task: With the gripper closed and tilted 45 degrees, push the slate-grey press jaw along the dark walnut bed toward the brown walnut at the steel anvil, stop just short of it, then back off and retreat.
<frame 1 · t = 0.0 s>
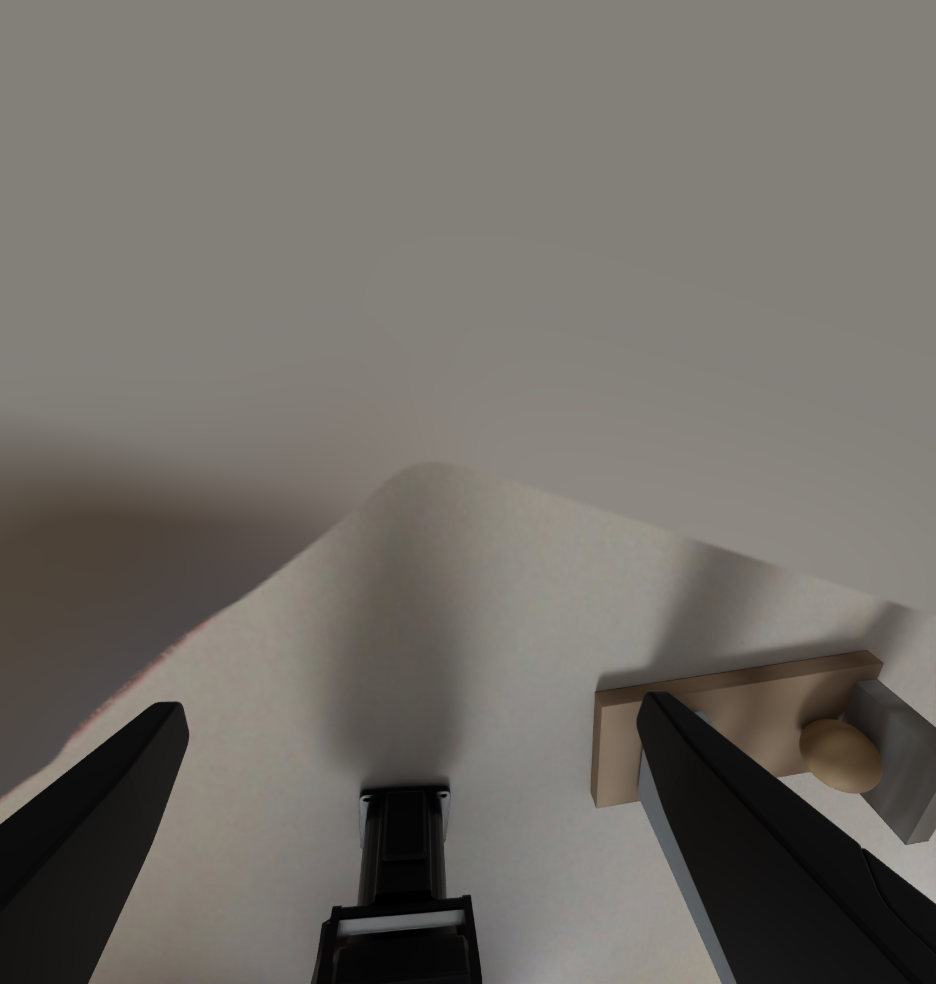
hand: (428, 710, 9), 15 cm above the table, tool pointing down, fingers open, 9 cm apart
press bed: (658, 735, 33), on the table
press jaw: (738, 881, 24), point 9 cm above the table, slide at 0.0 cm
walnut: (799, 712, 33), resting on press bed
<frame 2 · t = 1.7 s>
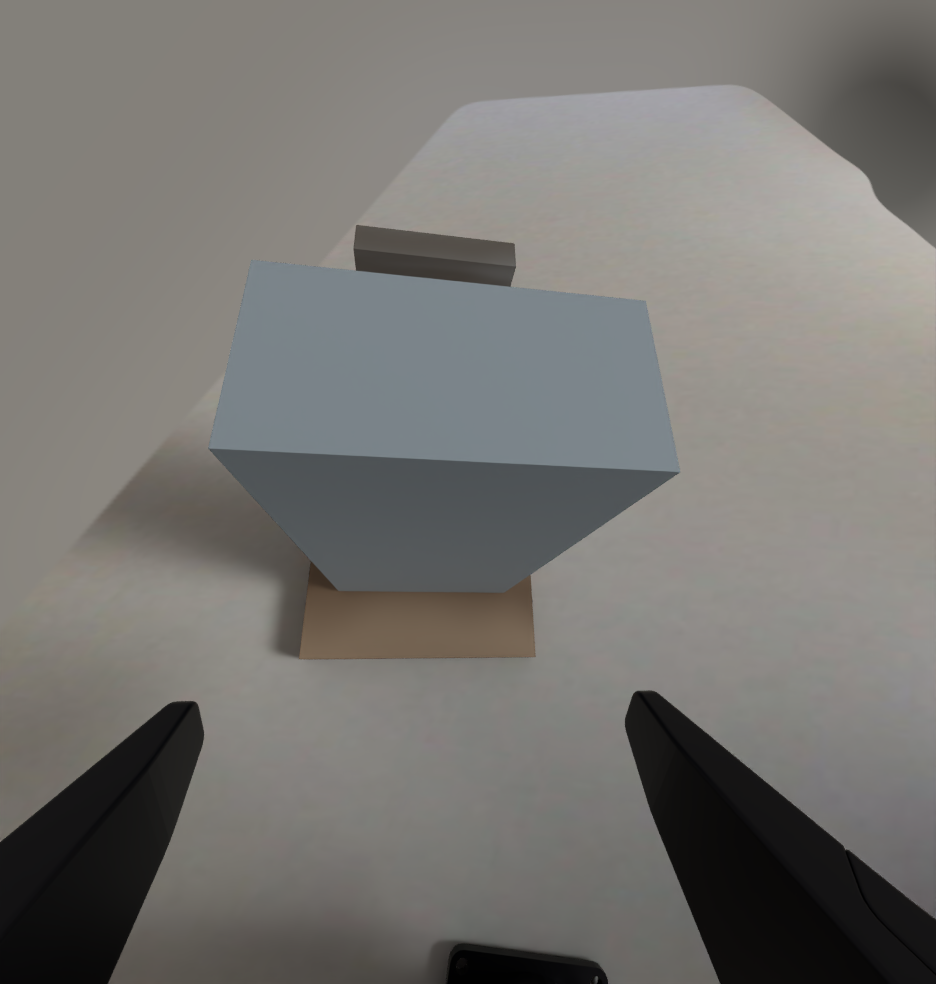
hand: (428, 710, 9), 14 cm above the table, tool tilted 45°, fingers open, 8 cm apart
press bed: (423, 558, 23), on the table
press jaw: (434, 500, 15), point 9 cm above the table, slide at 0.0 cm
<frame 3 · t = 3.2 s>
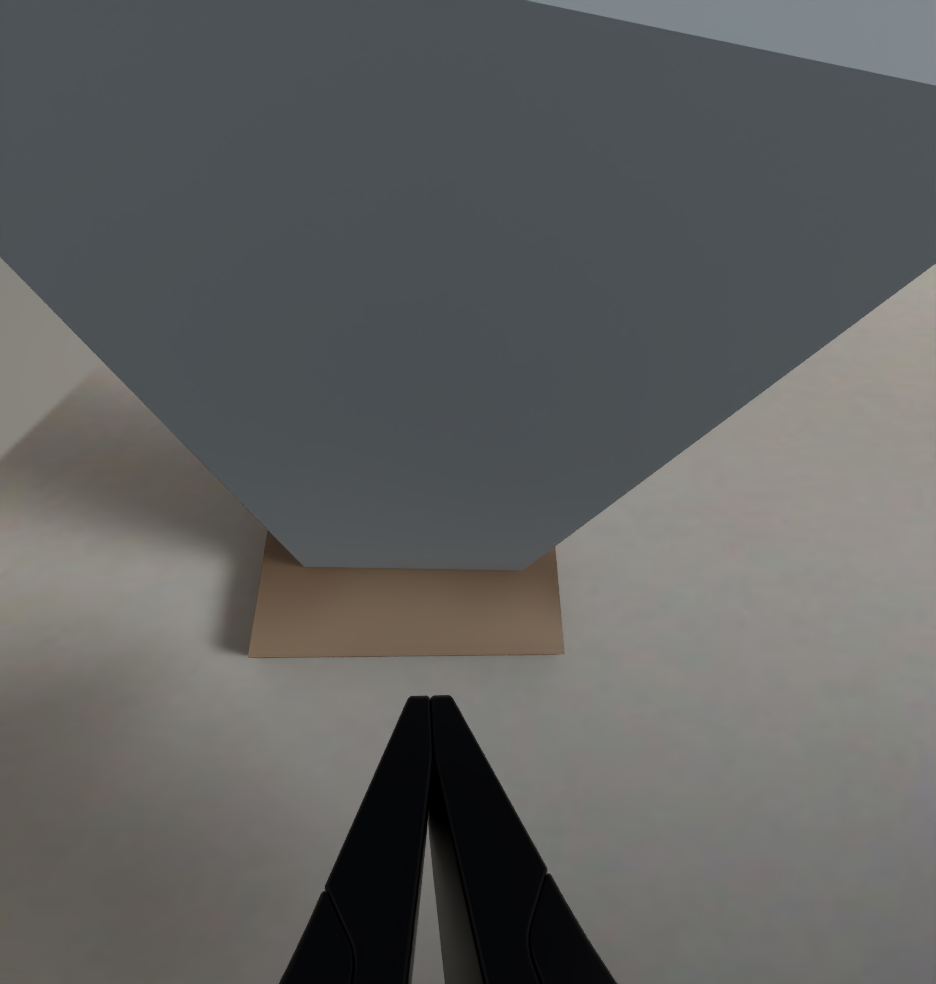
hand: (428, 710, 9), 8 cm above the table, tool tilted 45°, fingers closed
press bed: (417, 528, 18), on the table
press jaw: (432, 415, 10), point 9 cm above the table, slide at 0.0 cm
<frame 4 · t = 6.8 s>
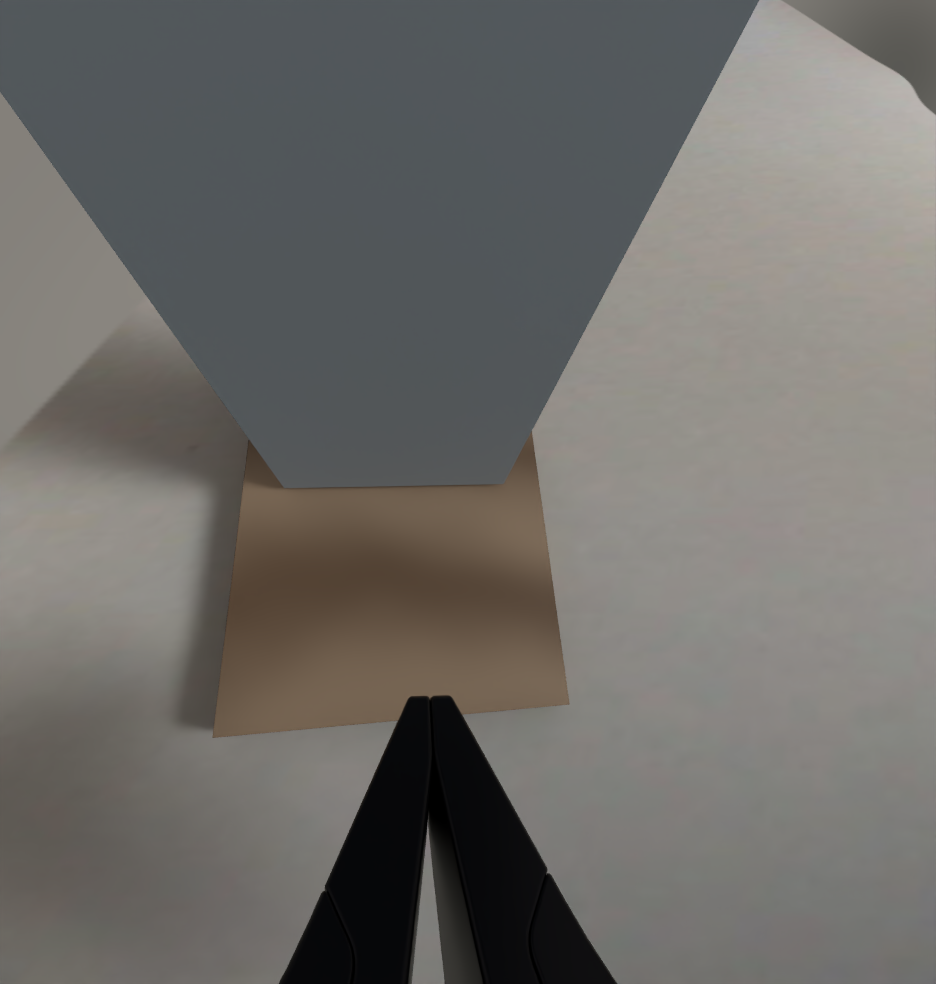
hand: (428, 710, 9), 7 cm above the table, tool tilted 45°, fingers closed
press bed: (399, 568, 17), on the table
press jaw: (388, 280, 10), point 9 cm above the table, slide at 4.8 cm
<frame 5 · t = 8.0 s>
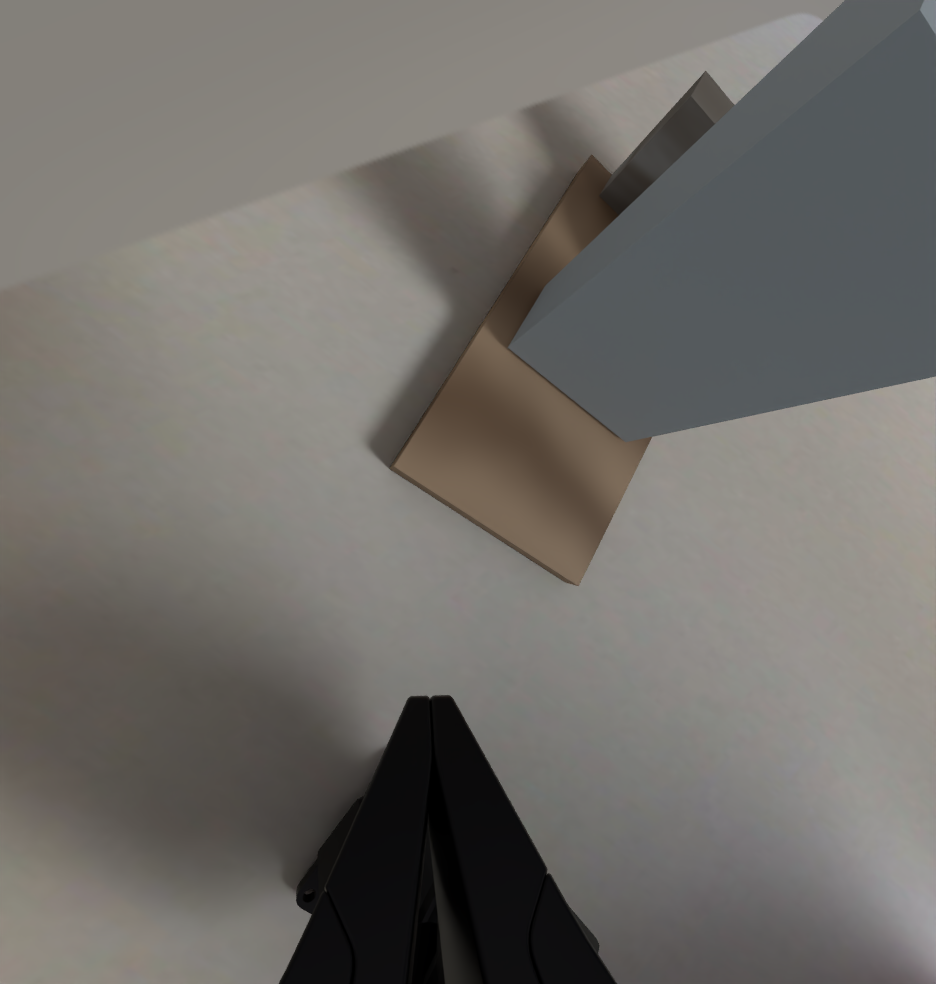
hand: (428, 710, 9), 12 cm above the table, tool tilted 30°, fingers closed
press bed: (529, 446, 23), on the table
press jaw: (714, 299, 15), point 9 cm above the table, slide at 4.8 cm
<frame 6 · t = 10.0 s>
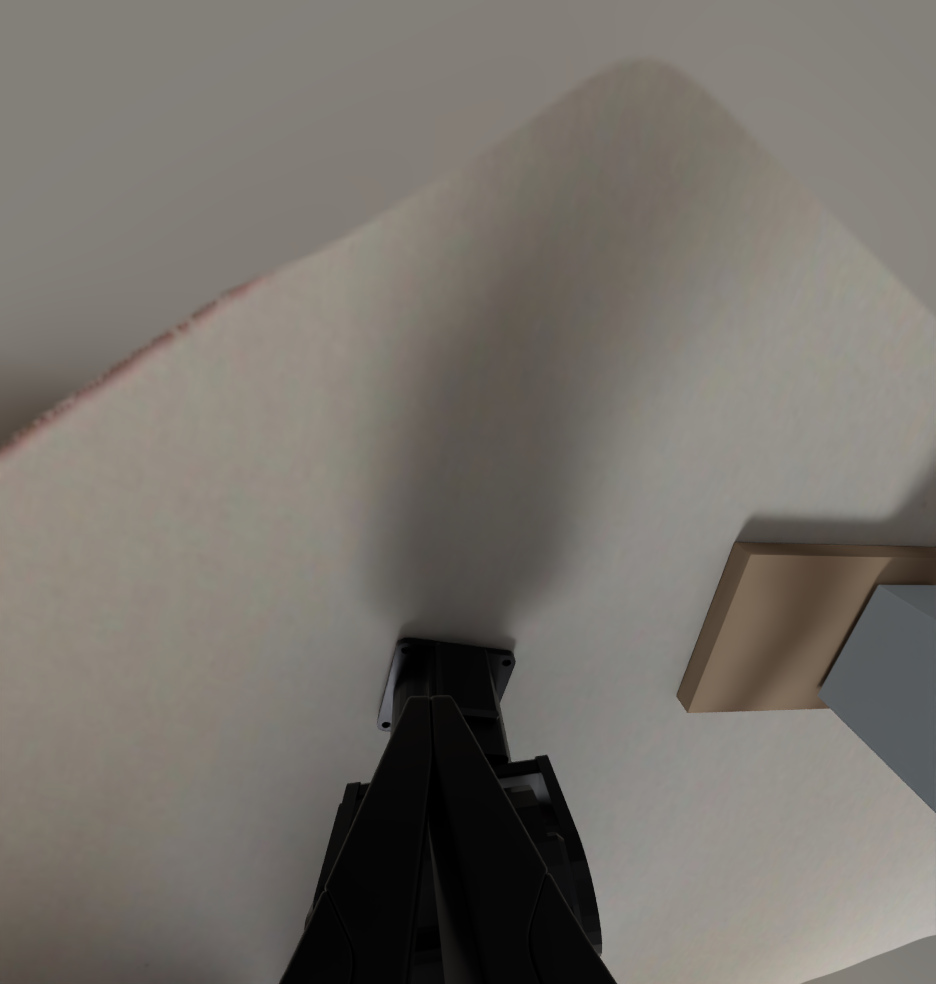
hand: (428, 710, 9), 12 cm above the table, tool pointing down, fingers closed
press bed: (781, 625, 26), on the table
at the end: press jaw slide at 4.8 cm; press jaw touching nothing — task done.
